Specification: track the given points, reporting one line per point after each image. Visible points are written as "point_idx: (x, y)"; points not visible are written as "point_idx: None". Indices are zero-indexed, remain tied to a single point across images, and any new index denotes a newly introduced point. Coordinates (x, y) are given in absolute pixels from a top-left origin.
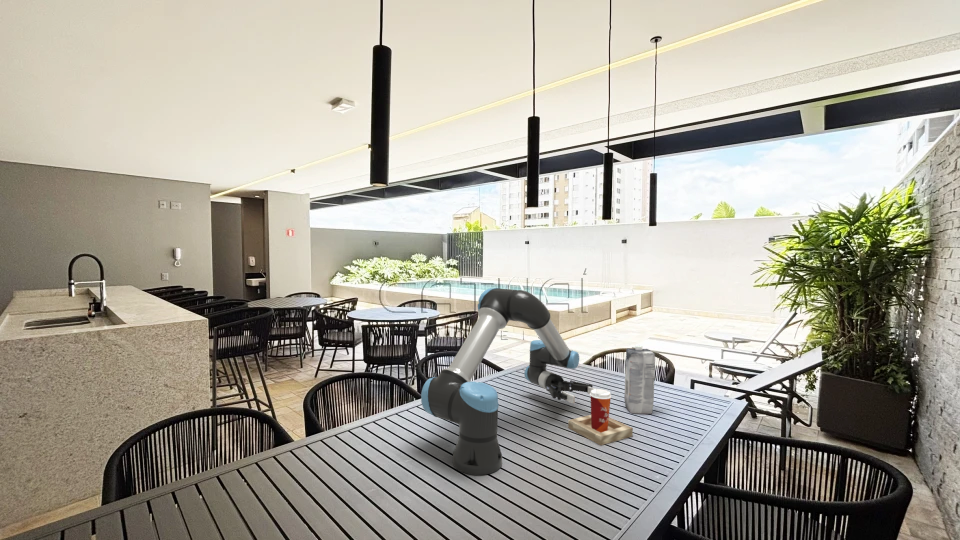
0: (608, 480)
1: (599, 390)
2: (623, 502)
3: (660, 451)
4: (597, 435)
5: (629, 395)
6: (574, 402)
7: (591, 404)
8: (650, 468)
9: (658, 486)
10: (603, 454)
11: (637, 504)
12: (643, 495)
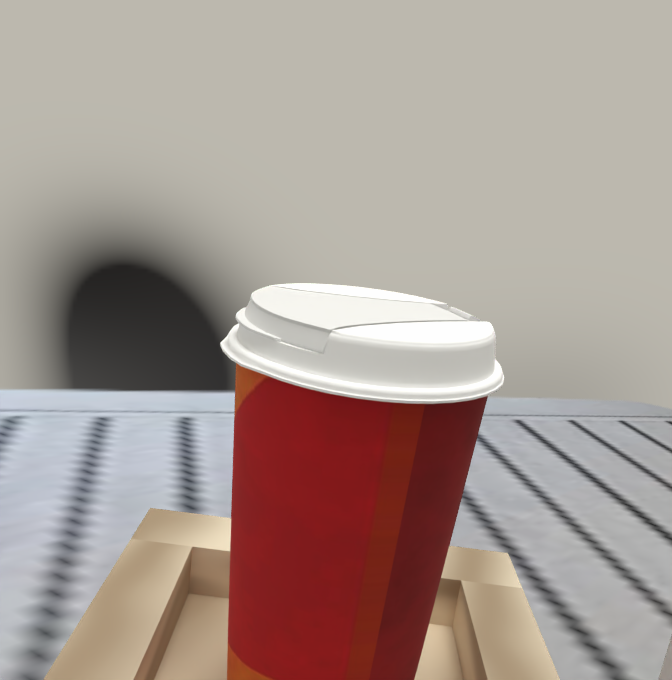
0: (646, 481)
1: (336, 315)
2: (652, 438)
3: (224, 457)
4: (514, 576)
5: None
6: (665, 677)
7: (461, 494)
8: None
9: None
10: (547, 559)
11: (612, 424)
12: (565, 426)
